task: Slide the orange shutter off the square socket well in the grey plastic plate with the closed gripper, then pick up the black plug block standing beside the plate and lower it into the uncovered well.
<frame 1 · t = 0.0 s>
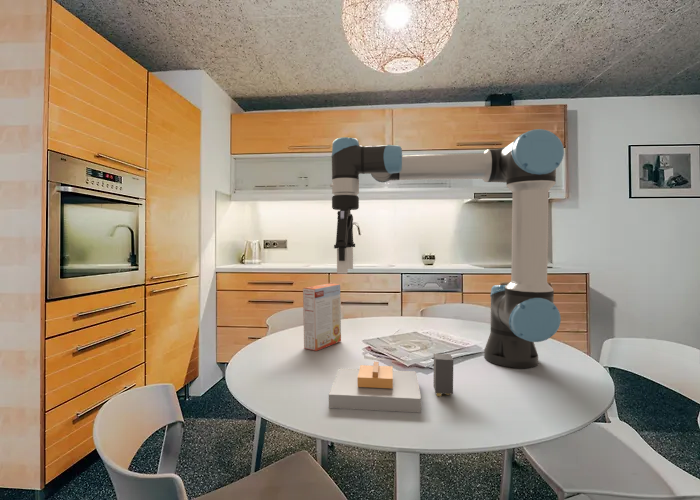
hand: (345, 271, 102), 28 cm above the table, tool pointing down, fingers open, 13 cm apart
shutter: (375, 373, 87), point 5 cm above the table, slide at 0.0 cm
cracker box: (322, 345, 127), on the table
socket plate: (375, 394, 87), on the table
plug: (442, 393, 87), on the table
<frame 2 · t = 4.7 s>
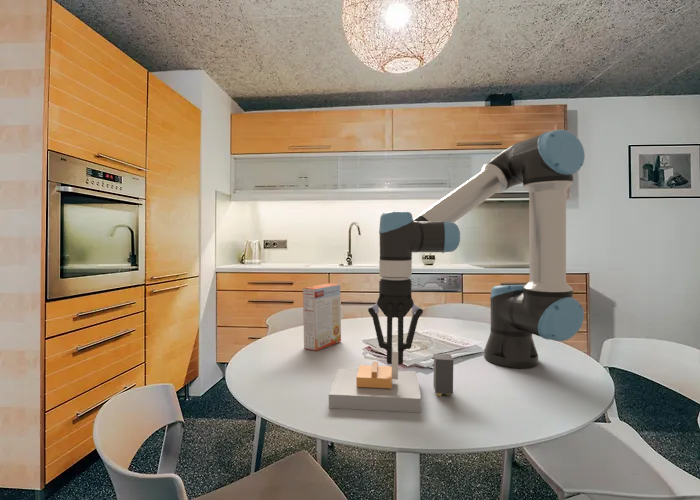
hand: (394, 377, 86), 4 cm above the table, tool pointing down, fingers closed
shutter: (374, 373, 87), point 5 cm above the table, slide at 0.2 cm, touching gripper
everything else where it was.
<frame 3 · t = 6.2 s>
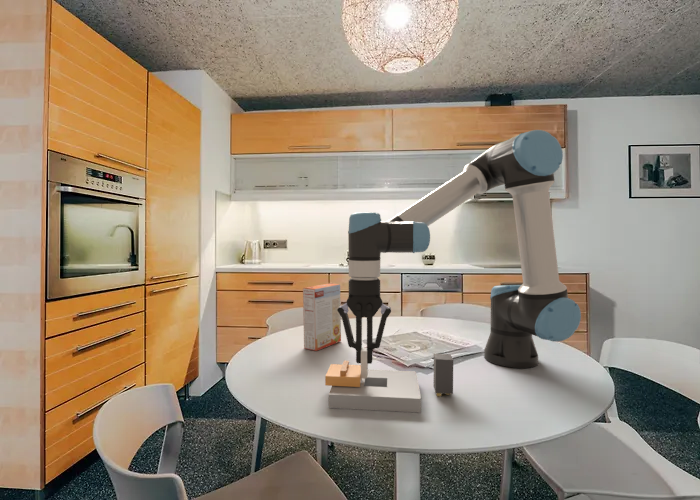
hand: (364, 376, 87), 4 cm above the table, tool pointing down, fingers closed
shutter: (344, 372, 88), point 5 cm above the table, slide at 7.5 cm, touching gripper
everything else where it was.
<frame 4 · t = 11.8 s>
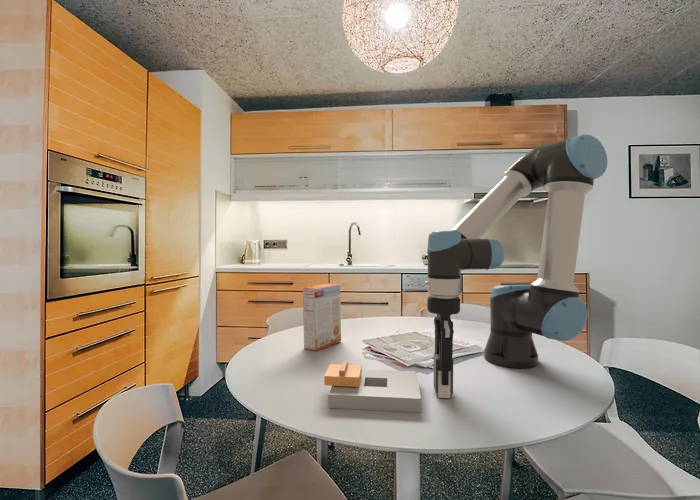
hand: (442, 392, 87), 0 cm above the table, tool pointing down, fingers closed on plug, 4 cm apart
shutter: (343, 372, 88), point 5 cm above the table, slide at 7.7 cm
plug: (443, 393, 87), on the table, touching gripper
everything else where it was.
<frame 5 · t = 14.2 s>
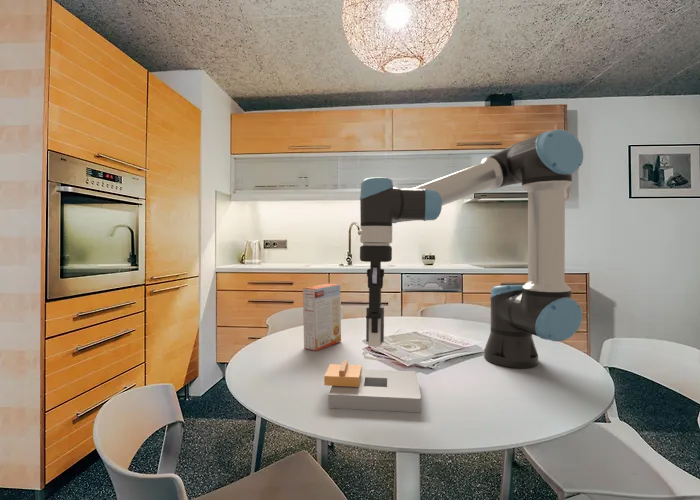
hand: (374, 342, 86), 12 cm above the table, tool pointing down, fingers closed on plug, 4 cm apart
plug: (375, 343, 86), point 12 cm above the table, touching gripper
everything else where it was.
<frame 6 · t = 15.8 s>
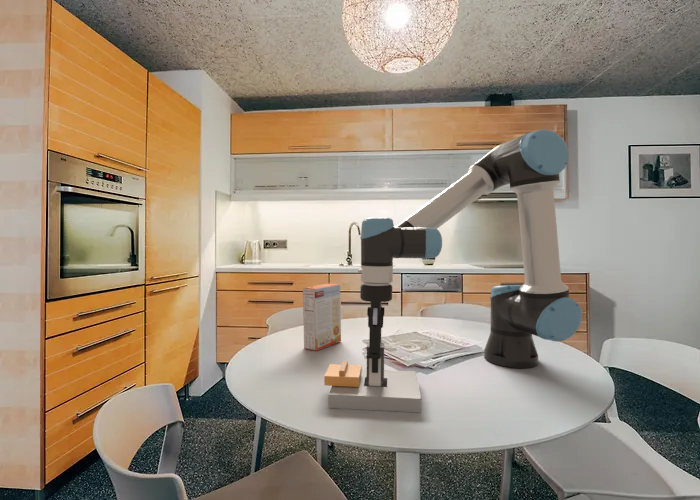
hand: (375, 381, 87), 3 cm above the table, tool pointing down, fingers closed on plug, socket plate, 4 cm apart
plug: (375, 382, 87), point 3 cm above the table, touching gripper
everything else where it was.
when the fingers open (3 cm above the table, at t = 17.1 s): plug drops 3 cm, resting in socket plate.
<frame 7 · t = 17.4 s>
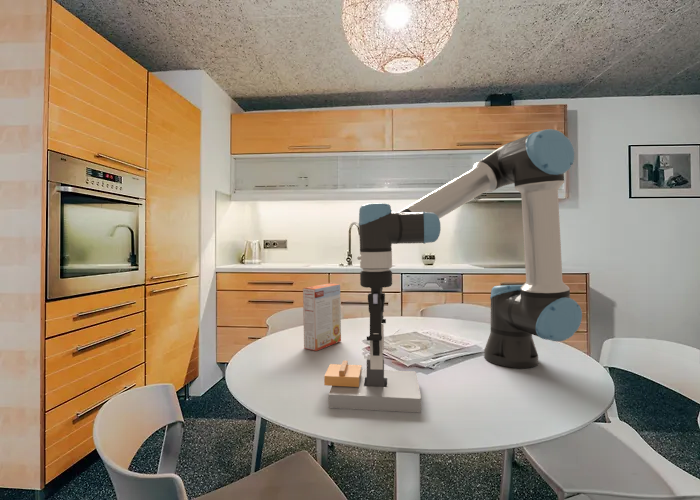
hand: (377, 358, 87), 9 cm above the table, tool pointing down, fingers open, 13 cm apart
plug: (375, 395, 86), resting in socket plate
everything else where it was.
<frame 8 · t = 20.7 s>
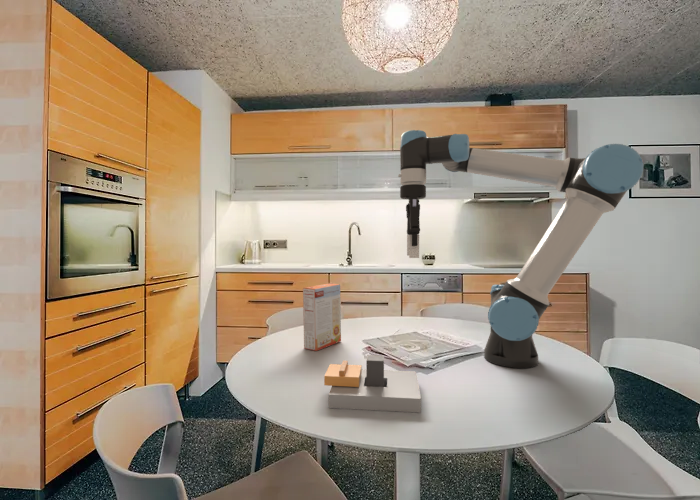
hand: (412, 256, 109), 32 cm above the table, tool pointing down, fingers open, 13 cm apart
nothing on the table moved.
at the end: shutter slide at 7.7 cm; plug 0.5 cm off-centre on the socket plate, point 0.0 cm above the socket plate's base; plug tilted 0° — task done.
